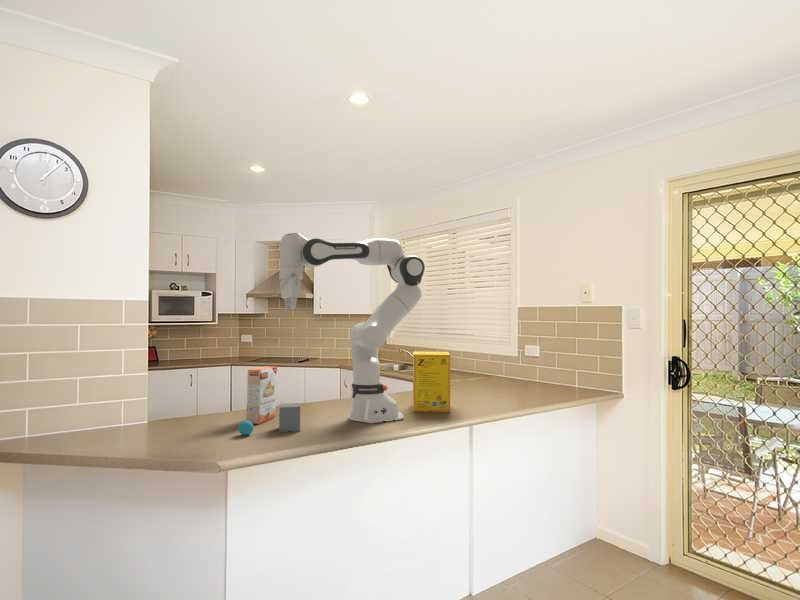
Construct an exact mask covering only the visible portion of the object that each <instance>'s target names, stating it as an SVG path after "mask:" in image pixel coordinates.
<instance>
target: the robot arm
mask: <svg viewBox="0 0 800 600" xmlns="http://www.w3.org/2000/svg"><path fill="white" fill-rule="evenodd" d="M279 259H280V261H279V267H278V269H279V271H278V272H279V274H278V280H279V281H280V283H279V287H280V296H281V299H284V305H285V306H284V307H285V311H292V310H293V311H294V310H295V311H296V309H297V302H298V298H301V295H302V285H301V280H303V266H306V267H309V268H317V267H320V266H321V265H323V264H325V263H327V262H329V261H333V260H354V261H356V262H358V263H359V264H361V265H365V266H384V265H385V266H386V267H387V269H388V273H389V276H390V278H391V279H392V280H393V281H394V282H395V283H397V286H396V287H395V290H393V291H392V292H391V293H390V294H389V295H388V296H387V297H385V299H384V300H383V301H381V303H380V304H379V305H378V306H377V307H376V309H375V310H374V312H373V313H372V314H371V316H370V317H369V318H368V319H367V320H366V321H365V322H359V323H357V324H355V325H354V326H353V327H352V328H351V330H350V332H349V333H350V334H349V337H350V348H351V349H350V350H351V358H352V383H351V391H350V392H351V394H350V395H351V403H350V404H351V406H350V410H349V415H348V420H349V421H354V422H362V423H367V424H375V423H383V421H386V422H392V421H393V420H395V421H402V420H401V419H403V420H404V418H405V416H404V414H403V413H402V412H400V411H399V406H398V404H397V402H396V400H395V399H393V398H392V397H391V396H390V395H388V394H387V393H386V392H385V391H387V390H388V386H387V385H386V384H383V383H381V362H380V359H379V354H378V349H380V348H381V347H382V346H383V345H384V344H385V341H386V340H387V339H388V337H389V336H390V335H391V333H392V332H393V330H394V329H395V328H396V327H397V326H398V324H399V323H400V322H401V321H402V320H403V319H404V318H405V317H407V315H408V314H410V312H411V311H412V310H413V309H414V307H416V305H417V303H418V302H419V301H420V299H421V298H422V295H423V293H422V290H421V288H420V287H419V285H420V284H421V281H422V280H423V279H422V278H423V276H424V273H425V269H426V267H425V263H424V261H423V259H422V258H420V257H419V256H417V255H413V254H412V255H411V254H410V255H405V253H404V251H403V247H402V245H401V243H400V241H398V240H396V239H392V238H367V239H363V240H358V241H355V242H329V241H327V240H324V239H321V238H311V239H308V238H306V237H305V236H303V235H302V234H301V233H299V232H292V233H291V232H290V233H287V234H284V235H283V236H282V237H281V239H280V243H279ZM393 422H394V421H393Z"/></svg>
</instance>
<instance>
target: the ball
mask: <svg viewBox="0 0 800 600" xmlns="http://www.w3.org/2000/svg"><path fill="white" fill-rule="evenodd" d="M253 431H254V424H252V423H251V422H250V421H246V420H243V421H241V422H240V423H239V425H238V432H239V434H241V436H249V435H250V434H252V433H253Z"/></svg>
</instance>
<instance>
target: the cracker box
mask: <svg viewBox="0 0 800 600" xmlns="http://www.w3.org/2000/svg"><path fill="white" fill-rule="evenodd" d="M277 373H278V367H277V366H269V365H268V366H267V365H265V366H259V367H257V368H256V367H255V368H250V369H247V383H246V384H247V386H246V387H247V388H246V389H247V390H246V391H247V392H246V418H245V421H250V422H251V423H252V424H253V425H261V424H262V423H264V422H265V423H266V422H267V421H269V420H272V419H274V418H276V414H277V413H276V411H277V410H276V408H277V407H276V406H277V379H278V377H277V375H278V374H277Z"/></svg>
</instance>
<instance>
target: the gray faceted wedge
mask: <svg viewBox="0 0 800 600" xmlns="http://www.w3.org/2000/svg"><path fill="white" fill-rule="evenodd" d="M278 406H279V407H278V409H279V410H278V411H279V413H278V430H279V431H278V432H279V433H286V432H287V433H289V432H288V431H291V432H301V405H300V402H291V403H279V405H278Z"/></svg>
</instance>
